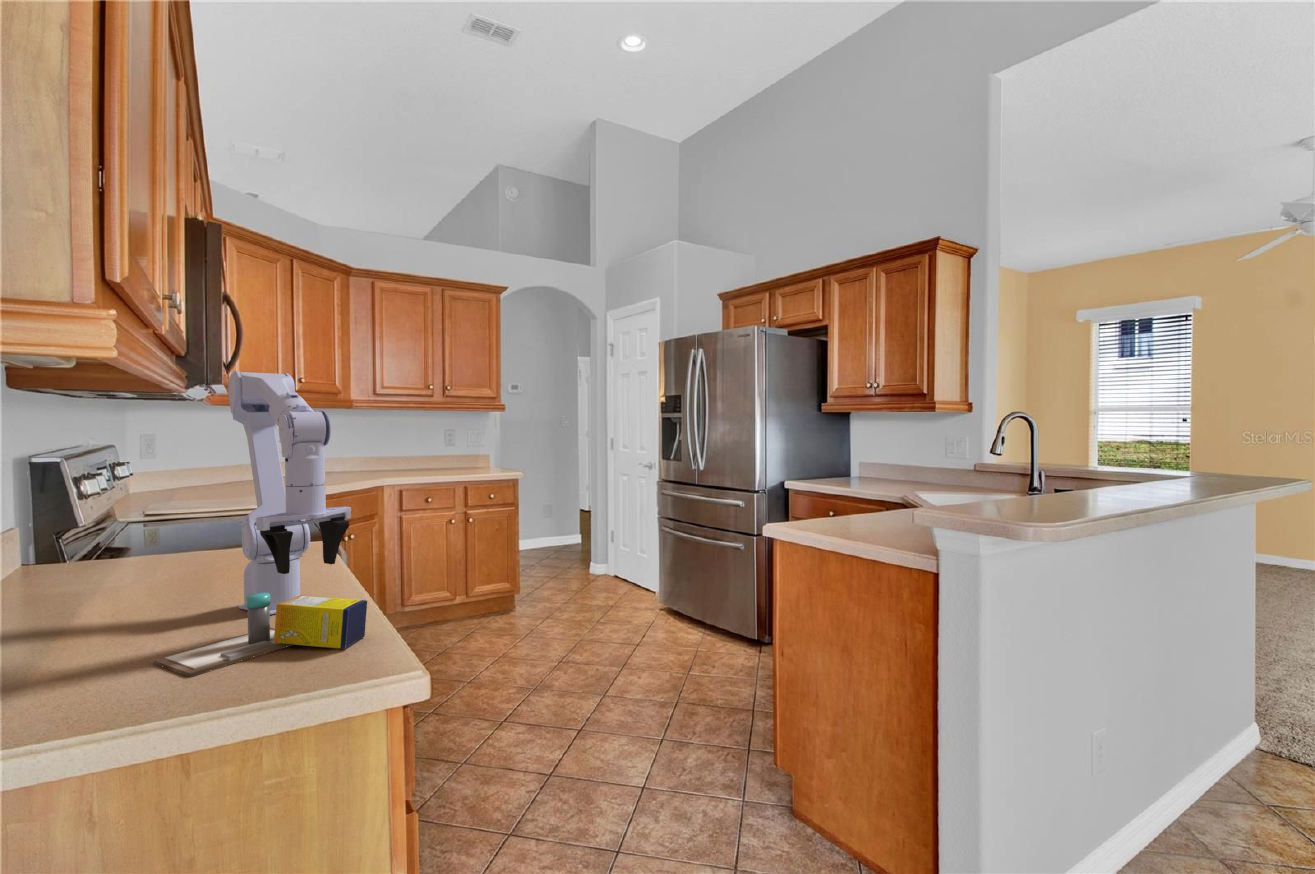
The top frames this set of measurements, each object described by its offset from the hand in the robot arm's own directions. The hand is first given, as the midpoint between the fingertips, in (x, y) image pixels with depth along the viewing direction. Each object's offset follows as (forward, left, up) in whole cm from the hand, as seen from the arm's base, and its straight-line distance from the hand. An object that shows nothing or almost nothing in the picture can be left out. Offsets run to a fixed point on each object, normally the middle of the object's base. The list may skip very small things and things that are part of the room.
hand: (307, 568), depth 103 cm
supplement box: (+14, -1, -7) cm, 16 cm away
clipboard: (+1, -12, -10) cm, 15 cm away
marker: (+2, -9, -9) cm, 13 cm away
